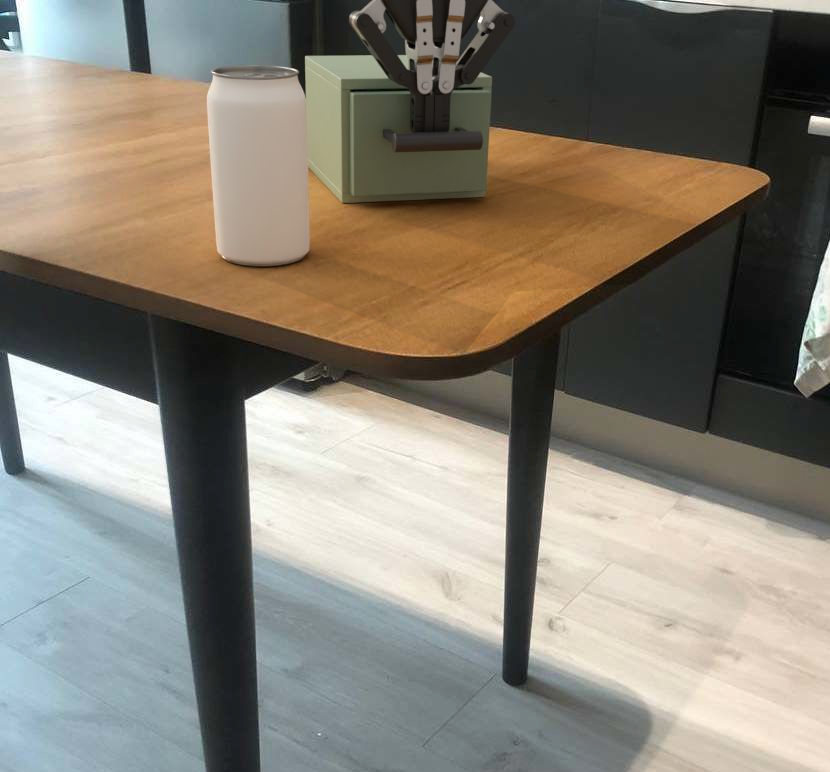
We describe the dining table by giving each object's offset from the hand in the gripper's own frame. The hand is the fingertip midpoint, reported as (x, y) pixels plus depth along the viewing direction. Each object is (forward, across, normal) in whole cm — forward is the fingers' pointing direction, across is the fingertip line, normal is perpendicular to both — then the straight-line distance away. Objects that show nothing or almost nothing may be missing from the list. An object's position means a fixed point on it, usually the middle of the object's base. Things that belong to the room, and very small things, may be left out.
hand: (429, 142), depth 86 cm
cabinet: (+5, 0, +11) cm, 12 cm away
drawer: (+4, 0, +6) cm, 8 cm away
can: (+5, -15, -10) cm, 19 cm away
